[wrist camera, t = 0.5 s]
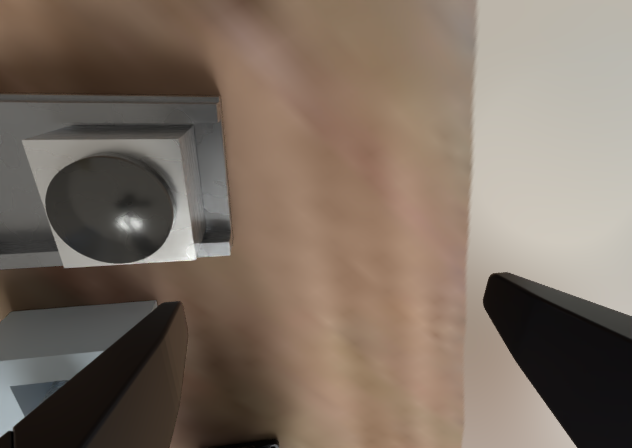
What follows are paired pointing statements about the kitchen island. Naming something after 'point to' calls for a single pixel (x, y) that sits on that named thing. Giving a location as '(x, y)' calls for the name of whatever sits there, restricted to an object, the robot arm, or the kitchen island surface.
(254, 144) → the kitchen island surface
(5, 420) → the socket block
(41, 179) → the carriage
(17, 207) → the rail
